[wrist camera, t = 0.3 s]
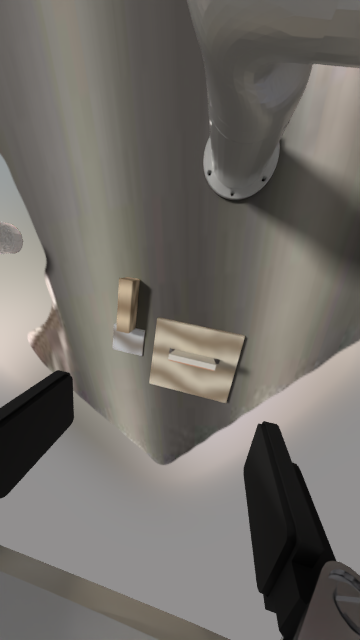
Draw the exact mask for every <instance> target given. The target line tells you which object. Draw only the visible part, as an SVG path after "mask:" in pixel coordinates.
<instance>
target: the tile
mask: <svg viewBox="0 0 360 640" xmlns="http://www.w3.org/2000/svg"><path fill="white" fill-rule="evenodd" d="M168 359H169V361H173V362H178V363H182V364H186V365H190V366H194V367H198V368H203V369H207V370H211V371H214V370H215V368H216V364H215V361H214V358H211V357H207V356H202V355H198V354H194V353H189V352H185V351H181V350H174V351H173V352H171V353H170V354H169V357H168Z"/></svg>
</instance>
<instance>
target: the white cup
mask: <svg viewBox="0 0 360 640" xmlns="http://www.w3.org/2000/svg"><path fill="white" fill-rule="evenodd" d="M22 245H23V240H22V235H21V233H20V232H19V230H18V228H16V227H15V226H14V225H12V224H9V223H4V222H0V254H5V253H16V252H19V251H20V250H21V248H22Z"/></svg>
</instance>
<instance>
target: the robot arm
mask: <svg viewBox="0 0 360 640" xmlns="http://www.w3.org/2000/svg"><path fill="white" fill-rule="evenodd" d="M187 3H188V7H189V11H190V15H191V19H192V22H193V26H194V29H195V32H196V35H197V39H198V42H199V45H200V48H201V52H202V55H203V60H204V66H205V73H206V83H207V95H208V110H209V124H210V137H209V139H208V142H207V144H206V148H205V152H204V160H203V164H204V173H205V177H206V179H207V182H208V184H209V186H210V187H211V189H212V190H213V191H214V192H215V193H216V194H218V195H219V196H220V197H223V198H225V199H229V200H241V199H245V198H248V197H250V196H252V195H254V194H255V193H257V192H258V191H260V190H261V189H262V188H263V187H264V186H265V185H266V183H267V182H268V181H269V179H270V178H271V176H272V174H273V172H274V170H275V168H276V166H277V162H278V158H279V151H280V144H279V141H280V139H281V137H282V135H283V133H284V131H285V129H286V127H287V125H288V123H289V121H290V119H291V117H292V115H293V113H294V111H295V109H296V107H297V105H298V103H299V101H300V99H301V97H302V95H303V93H304V90H305V88H306V85H307V83H308V80H309V76H310V73H311V69H312V65H313V64H322V65H332V66H343V67H353V68H360V0H187ZM209 173H210V174H211V175H210V176H209V175H208V174H209ZM262 179H264V182H263V181H262ZM231 194H234V195H233V196H231ZM73 419H74V411H73V379H72V377H71V376H70V373H68V372H64V371H59V370H58V371H55V372H54V373H52V374H51V375H49V376H48V377H46V378H45V379H43V380H42V381H40V382H39V383H37V384H36V385H34V386H33V387H31V388H30V389H28V390H27V391H25V392H24V393H22V394H21V395H19V396H18V397H16V398H15V399H13V400H12V401H10V402H9V403H7V404H6V405H4V406H3V407H2V408H0V498H3V497H5V496H6V495H7V494H8V493H9V492H10V491H11V490H12V489H13V488H14V487H15V486H16V484H17V483H18V482H19V481H20V480H21V479H22V478H23V477H24V476H25V475H26V473H27V472H28V471H29V470H30V469H31V468H32V467H33V466H34V465H35V464H36V462H37V461H38V460H39V459H40V458H41V457H42V456H43V455H44V454H45V453H46V451H47V450H48V449H49V448H50V447H51V446H52V445H53V444H54V443H55V442H56V440H57V439H58V438H59V437H60V436H61V435H62V434H63V433H64V431H66V430H67V428H68V427H69V426H70V425H71V424H72V422H73ZM244 481H245V490H246V497H247V506H248V515H249V523H250V531H251V540H252V547H253V555H254V565H255V573H256V581H257V587H258V590H259V592H260V593H262V594H263V596H264V603H265V609H266V610H269V611H271V612H274V613H276V615H277V621H278V627H279V631H280V632H281V634H282V637H281V640H360V576H359V575H358V574H357V573H356V572H355V571H353V570H352V569H351V568H350V567H348V566H346V565H344V564H343V563H341V562H337V561H336V559H335V557H334V554H333V551H332V549H331V546H330V544H329V541H328V539H327V536H326V534H325V531H324V529H323V526H322V524H321V521H320V519H319V516H318V514H317V511H316V509H315V506H314V504H313V501H312V498H311V496H310V493H309V491H308V488H307V486H306V483H305V481H304V478H303V476H302V473H301V471H300V469H299V467H298V466H297V464H294V463H292V461H291V459H290V456H289V453H288V450H287V448H286V445H285V442H284V439H283V437H282V434H281V431H280V429H279V426H278V425H277V424H273V423H269V422H265V421H264V422H263V423H262V424H258V426H257V429H256V432H255V435H254V438H253V441H252V444H251V447H250V450H249V453H248V456H247V459H246V462H245V465H244ZM0 640H230V639H228V638H225V637H223V636H221V635H218V634H216V633H214V632H212V631H209V630H207V629H205V628H202V627H200V626H198V625H196V624H193V623H191V622H188V621H186V620H184V619H181V618H179V617H176V616H174V615H172V614H169V613H167V612H164V611H162V610H159V609H157V608H155V607H152V606H150V605H147V604H145V603H142V602H140V601H137V600H135V599H132V598H130V597H128V596H125V595H123V594H120V593H118V592H115V591H113V590H111V589H108V588H106V587H103V586H101V585H98V584H96V583H93V582H91V581H88V580H86V579H83V578H81V577H78V576H76V575H74V574H71V573H68V572H66V571H64V570H61V569H58V568H56V567H54V566H51V565H49V564H46V563H44V562H41V561H39V560H36V559H33V558H31V557H29V556H26V555H24V554H21V553H19V552H16V551H13V550H11V549H8V548H6V547H3V546H1V545H0Z"/></svg>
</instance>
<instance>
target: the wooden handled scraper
mask: <svg viewBox="0 0 360 640" xmlns="http://www.w3.org/2000/svg"><path fill="white" fill-rule="evenodd" d="M139 283H140V279H135V278H130V277H125V278H120V279H119V293H118V312H117V324H114V335H113V349H115V350H119V351H124V352H128V353H132V354H136V355H140V356H142V355H143V345H144V336H145V330H142V329H138V328H136V317H137V305H138V294H139Z"/></svg>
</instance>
